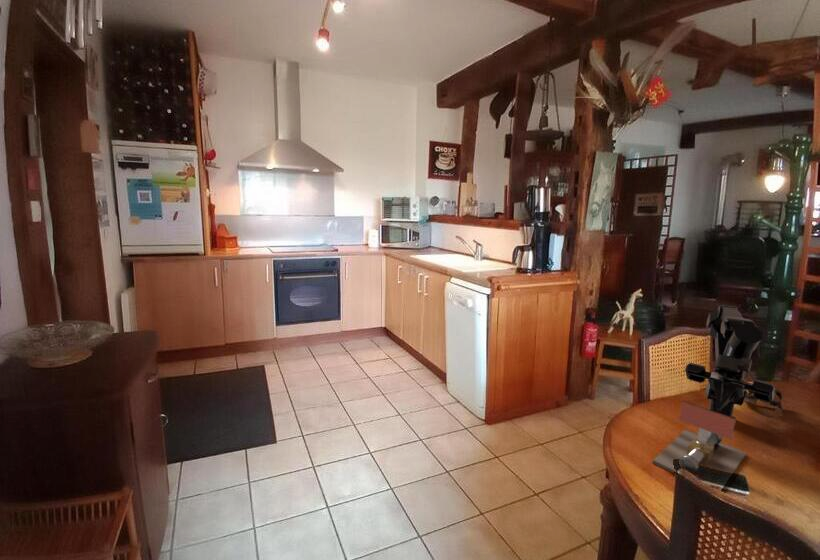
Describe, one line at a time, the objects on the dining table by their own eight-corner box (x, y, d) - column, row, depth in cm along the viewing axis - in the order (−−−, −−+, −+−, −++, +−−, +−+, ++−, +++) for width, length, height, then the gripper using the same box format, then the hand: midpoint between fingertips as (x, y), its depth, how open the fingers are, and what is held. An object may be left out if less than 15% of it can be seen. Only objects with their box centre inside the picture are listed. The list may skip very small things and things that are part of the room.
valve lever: (677, 434, 109) (684, 400, 108) (728, 454, 100) (736, 418, 99) (675, 435, 108) (682, 401, 107) (727, 455, 100) (734, 419, 98)
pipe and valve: (703, 438, 114) (705, 425, 113) (722, 446, 110) (724, 432, 109) (676, 467, 101) (678, 453, 100) (697, 477, 98) (700, 462, 97)
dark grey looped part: (776, 422, 126) (762, 396, 127) (744, 420, 134) (732, 396, 136) (798, 405, 130) (785, 380, 131) (766, 405, 139) (754, 381, 140)
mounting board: (684, 432, 118) (684, 429, 118) (745, 455, 108) (746, 452, 108) (652, 463, 104) (652, 460, 104) (719, 493, 93) (720, 490, 93)
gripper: (692, 334, 115) (673, 382, 110) (780, 353, 101) (763, 409, 96) (696, 355, 122) (678, 401, 117) (780, 375, 108) (764, 429, 103)
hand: (718, 409), depth 108 cm, fingers closed
